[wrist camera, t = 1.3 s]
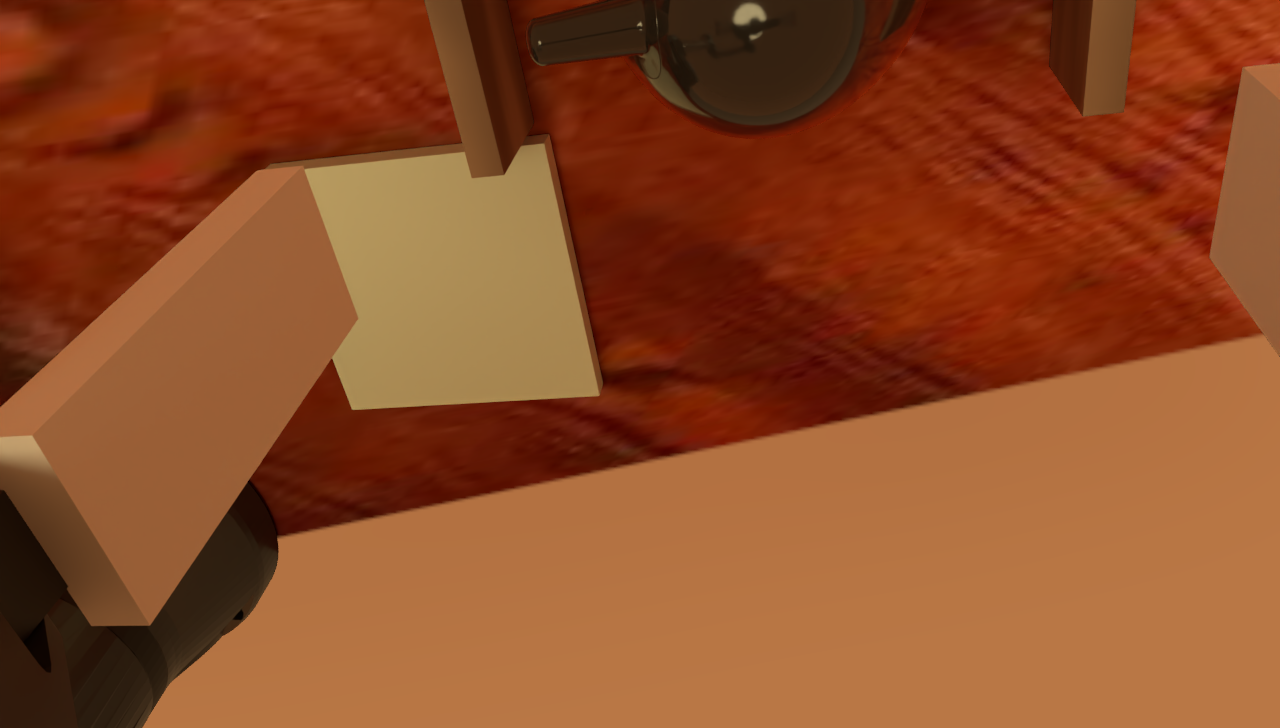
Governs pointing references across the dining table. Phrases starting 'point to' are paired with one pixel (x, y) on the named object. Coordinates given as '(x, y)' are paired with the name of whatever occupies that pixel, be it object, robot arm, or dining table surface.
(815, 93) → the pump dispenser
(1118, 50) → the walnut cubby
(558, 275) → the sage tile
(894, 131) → the dining table surface
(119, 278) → the dining table surface
